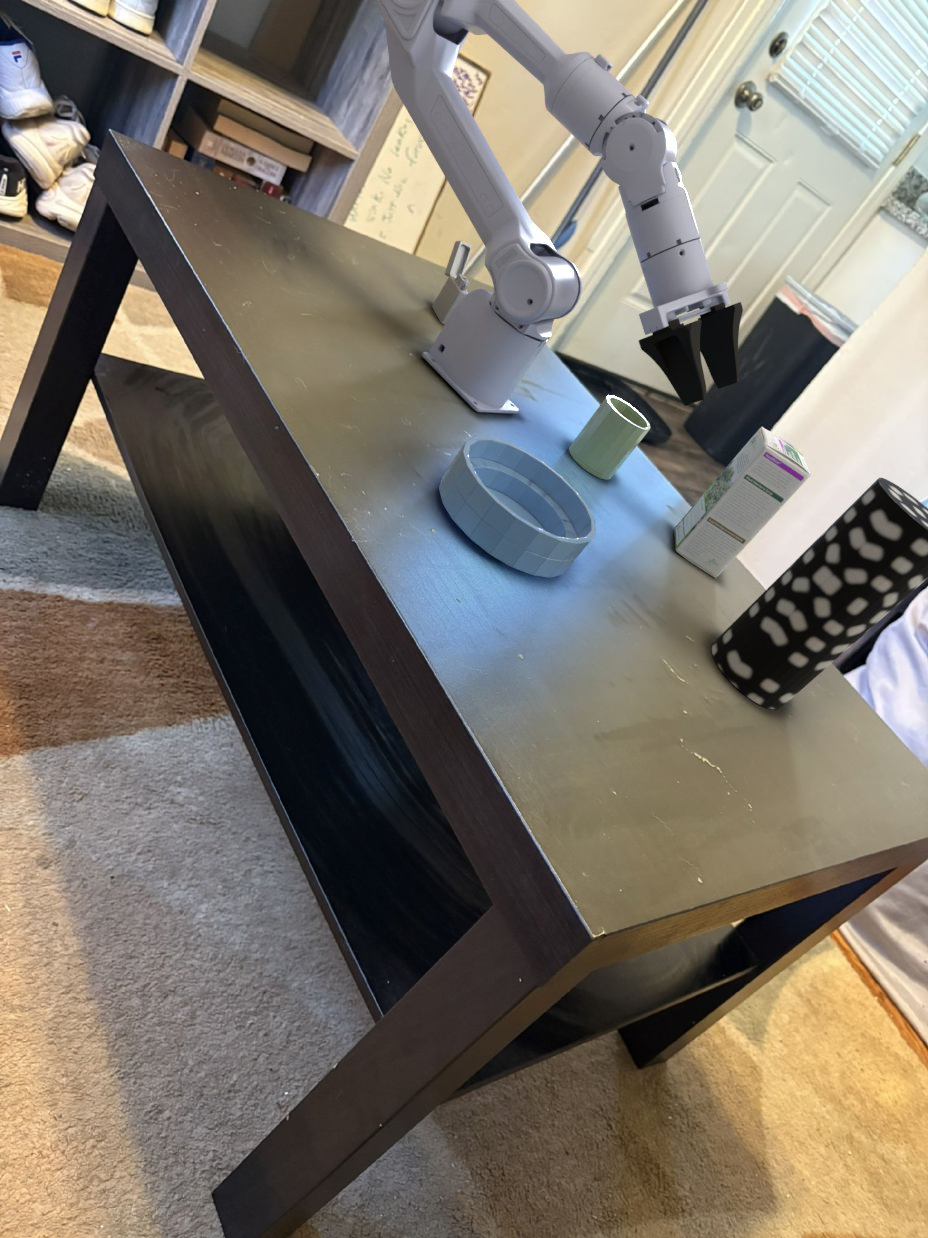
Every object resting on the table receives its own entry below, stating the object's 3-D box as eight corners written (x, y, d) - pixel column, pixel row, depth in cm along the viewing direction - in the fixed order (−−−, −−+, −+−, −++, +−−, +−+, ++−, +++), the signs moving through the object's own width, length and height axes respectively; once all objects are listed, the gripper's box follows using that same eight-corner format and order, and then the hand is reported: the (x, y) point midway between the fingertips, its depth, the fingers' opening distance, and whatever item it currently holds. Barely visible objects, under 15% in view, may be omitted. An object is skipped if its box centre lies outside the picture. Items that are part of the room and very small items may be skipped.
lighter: (452, 327, 105) (488, 268, 101) (440, 322, 104) (476, 262, 100) (436, 299, 109) (469, 241, 105) (425, 294, 108) (458, 235, 104)
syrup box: (716, 580, 93) (816, 476, 85) (672, 550, 92) (768, 442, 84) (713, 555, 98) (806, 455, 90) (670, 527, 97) (761, 423, 89)
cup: (559, 445, 96) (597, 394, 93) (585, 445, 101) (622, 396, 97) (595, 480, 94) (635, 429, 91) (619, 478, 99) (658, 429, 95)
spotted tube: (790, 724, 77) (976, 564, 67) (715, 678, 76) (894, 506, 66) (776, 670, 84) (942, 517, 74) (707, 626, 83) (867, 464, 72)
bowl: (407, 479, 71) (434, 435, 69) (496, 474, 81) (522, 436, 79) (509, 592, 67) (542, 550, 65) (589, 572, 77) (620, 535, 75)
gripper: (672, 241, 73) (719, 397, 76) (741, 226, 83) (780, 365, 86) (603, 274, 78) (650, 419, 81) (676, 256, 88) (715, 386, 91)
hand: (712, 393), depth 84 cm, fingers open, 7 cm apart
